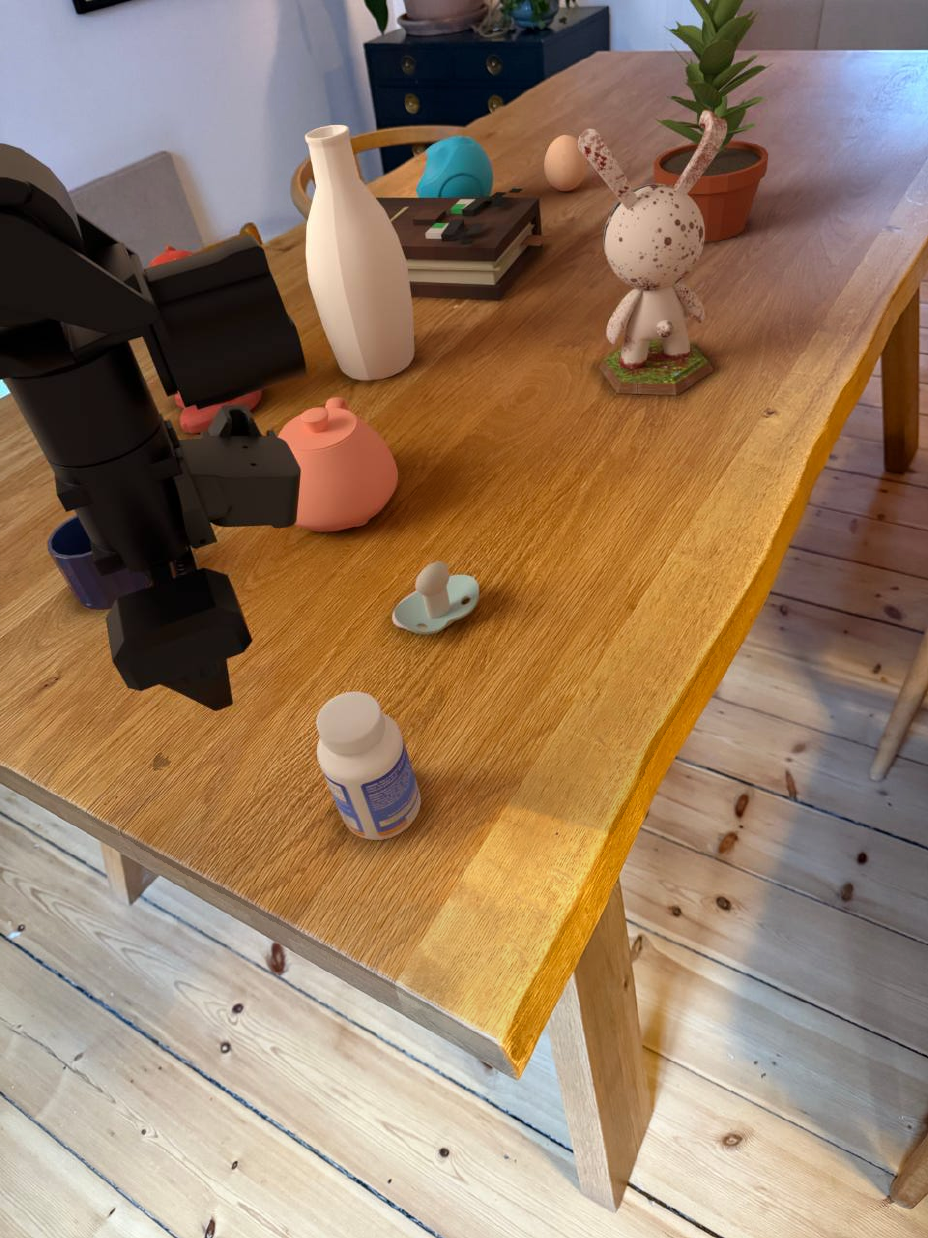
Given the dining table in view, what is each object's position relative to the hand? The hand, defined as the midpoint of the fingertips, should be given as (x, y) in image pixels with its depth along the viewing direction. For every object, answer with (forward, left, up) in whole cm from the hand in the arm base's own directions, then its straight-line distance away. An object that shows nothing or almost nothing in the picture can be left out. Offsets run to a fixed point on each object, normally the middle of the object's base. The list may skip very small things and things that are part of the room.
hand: (209, 656), depth 54 cm
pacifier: (+16, +10, -13) cm, 23 cm away
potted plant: (+77, +63, -13) cm, 101 cm away
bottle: (+26, +55, -13) cm, 63 cm away
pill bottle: (+6, -6, -13) cm, 16 cm away
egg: (+70, +91, -13) cm, 116 cm away
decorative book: (+42, +76, -13) cm, 88 cm away
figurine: (+51, +34, -13) cm, 63 cm away
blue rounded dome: (+52, +92, -13) cm, 107 cm away
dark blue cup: (-8, +30, -13) cm, 33 cm away
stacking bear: (+7, +57, -13) cm, 59 cm away
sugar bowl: (+14, +30, -13) cm, 36 cm away
